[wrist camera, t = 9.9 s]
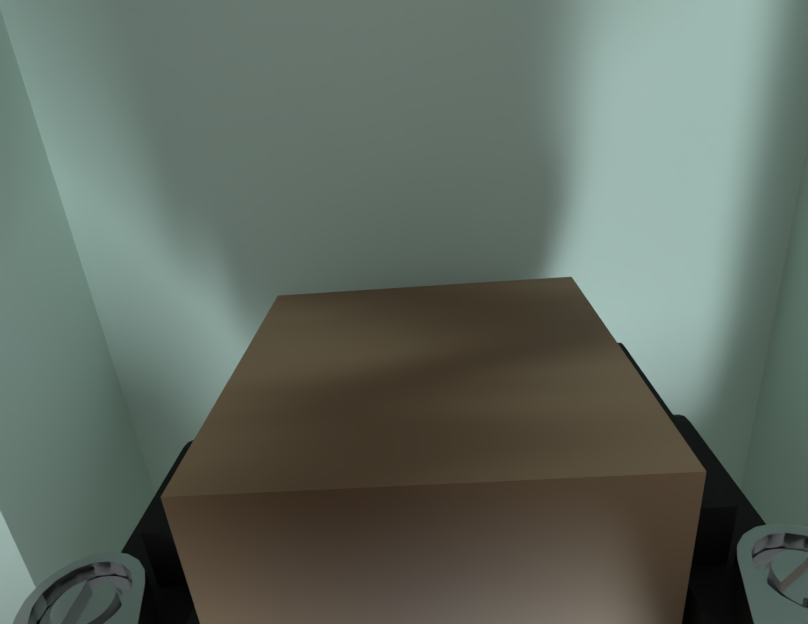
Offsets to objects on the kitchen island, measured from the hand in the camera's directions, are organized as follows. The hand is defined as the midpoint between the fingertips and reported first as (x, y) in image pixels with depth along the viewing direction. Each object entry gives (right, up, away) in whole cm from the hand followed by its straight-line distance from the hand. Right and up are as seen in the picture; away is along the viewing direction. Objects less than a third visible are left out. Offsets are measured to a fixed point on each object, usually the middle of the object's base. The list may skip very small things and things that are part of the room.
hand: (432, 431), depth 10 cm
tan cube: (0, 0, +1) cm, 1 cm away
